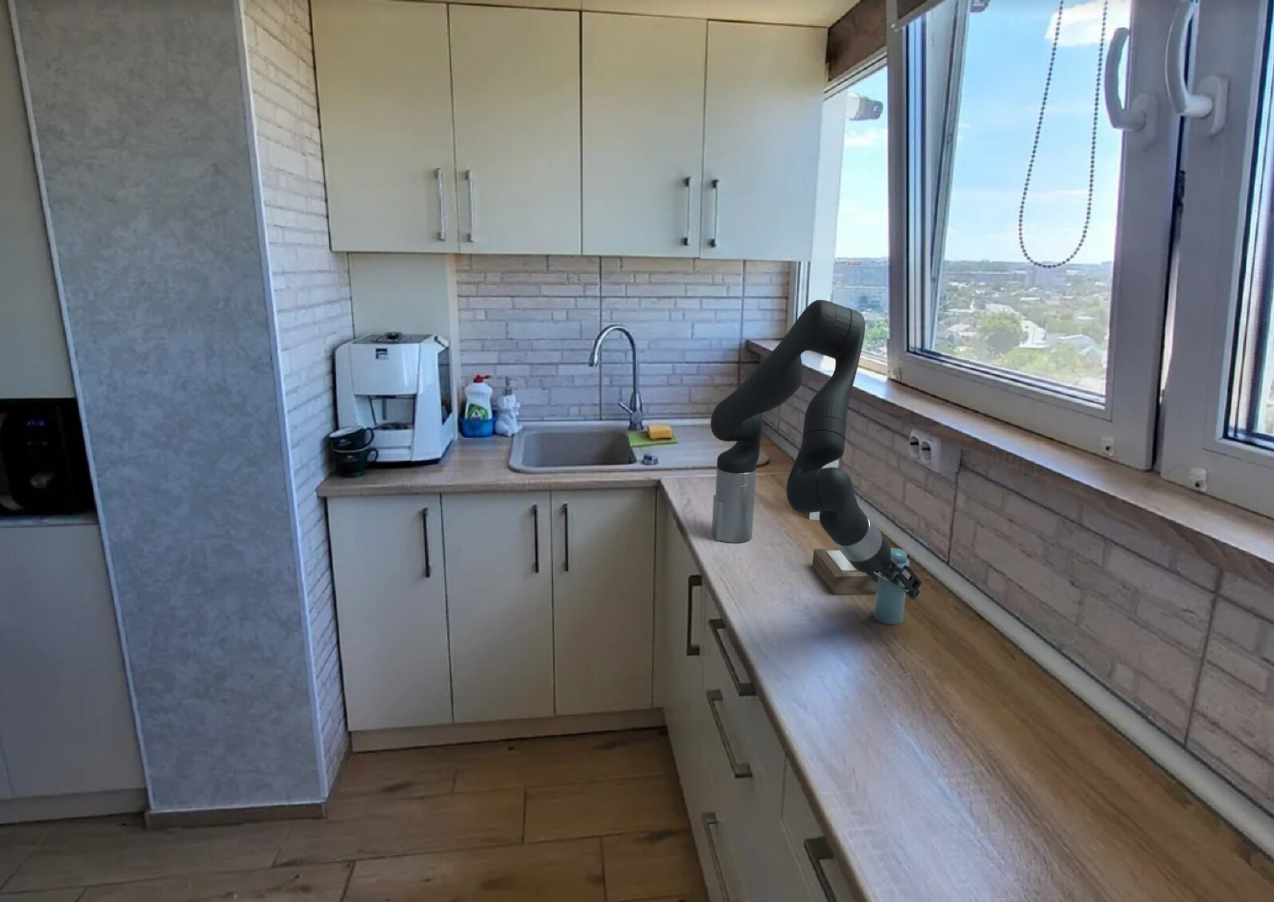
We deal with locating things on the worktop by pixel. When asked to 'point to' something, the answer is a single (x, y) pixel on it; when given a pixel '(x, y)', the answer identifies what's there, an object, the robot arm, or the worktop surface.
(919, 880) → the worktop surface
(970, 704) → the worktop surface
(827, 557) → the plinth
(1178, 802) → the worktop surface
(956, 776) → the worktop surface
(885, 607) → the blue capped bottle
